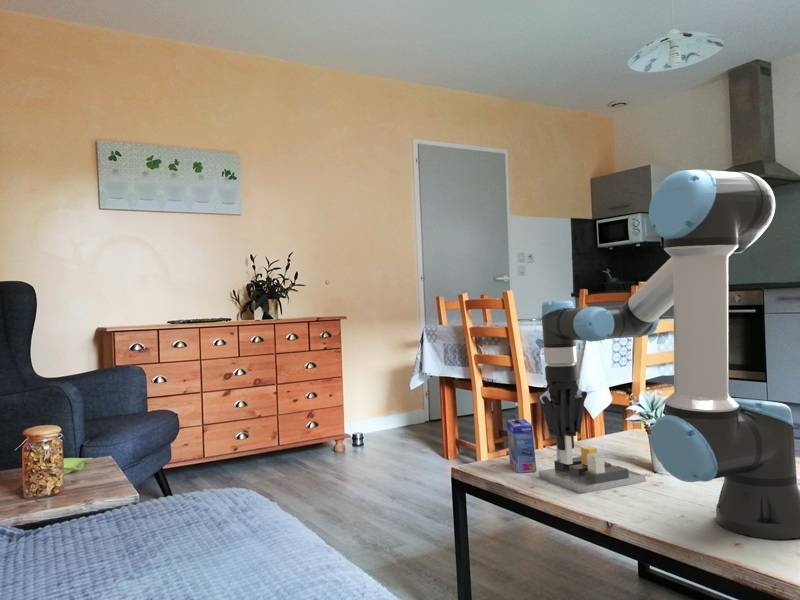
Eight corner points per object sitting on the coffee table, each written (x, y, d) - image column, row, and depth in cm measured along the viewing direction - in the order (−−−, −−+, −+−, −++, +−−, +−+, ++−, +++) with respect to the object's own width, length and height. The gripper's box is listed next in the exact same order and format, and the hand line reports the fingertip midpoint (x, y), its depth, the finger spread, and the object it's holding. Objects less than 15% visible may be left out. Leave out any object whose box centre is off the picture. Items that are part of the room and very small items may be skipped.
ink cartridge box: (508, 463, 164) (505, 411, 164) (528, 462, 164) (525, 410, 164) (515, 473, 154) (512, 417, 154) (537, 472, 154) (533, 415, 155)
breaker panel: (645, 481, 141) (643, 449, 141) (579, 493, 134) (577, 460, 134) (600, 466, 156) (598, 437, 156) (538, 477, 149) (537, 447, 149)
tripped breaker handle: (597, 465, 144) (596, 448, 144) (589, 466, 143) (588, 449, 143) (589, 462, 147) (588, 446, 147) (581, 463, 146) (580, 447, 146)
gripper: (573, 361, 149) (579, 456, 149) (528, 365, 145) (534, 463, 144) (593, 363, 142) (599, 462, 142) (547, 367, 138) (553, 470, 137)
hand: (566, 462), depth 143 cm, fingers closed
